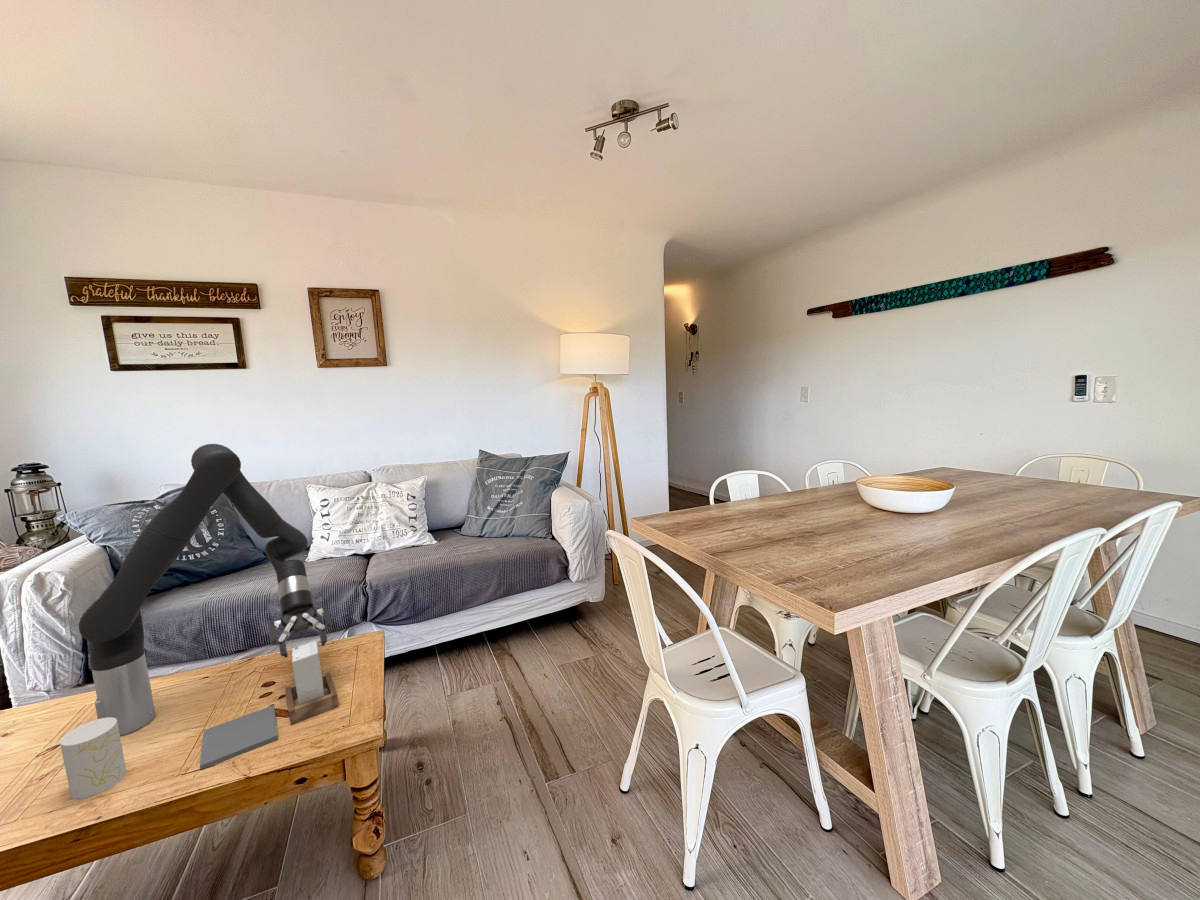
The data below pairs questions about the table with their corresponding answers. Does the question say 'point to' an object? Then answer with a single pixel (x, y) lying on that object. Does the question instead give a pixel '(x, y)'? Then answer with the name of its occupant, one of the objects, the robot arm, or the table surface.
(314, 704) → the walnut collar
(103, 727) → the grey patterned cylinder
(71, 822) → the table surface
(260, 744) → the charcoal mat
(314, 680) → the skincare box
